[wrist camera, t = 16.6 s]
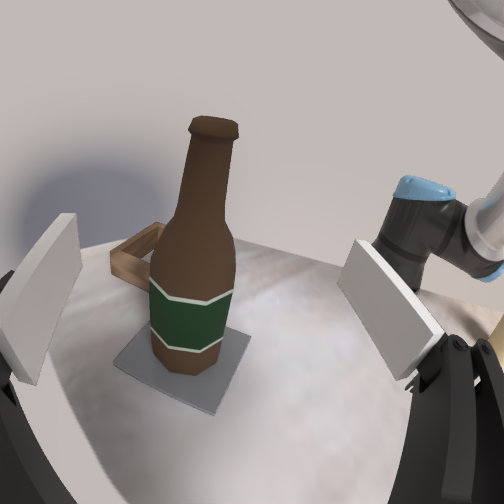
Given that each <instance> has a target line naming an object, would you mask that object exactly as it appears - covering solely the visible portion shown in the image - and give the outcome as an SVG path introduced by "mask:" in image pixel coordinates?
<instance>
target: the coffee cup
mask: <svg viewBox="0 0 504 504" xmlns="http://www.w3.org/2000/svg"><path fill="white" fill-rule="evenodd" d="M487 341H488V342H489V343H490V344H491V346H492V347H493V349H494V350H495V353H496V355H497V358H498V360H499V363H500V365H501V367H503V366H504V315H503V317H502V318H501V320H500V322H499V323H498V325H497V326H496V328H495V330H494V331H493V333H492V334H491V336H490V337H489V339H488V340H487Z"/></svg>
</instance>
